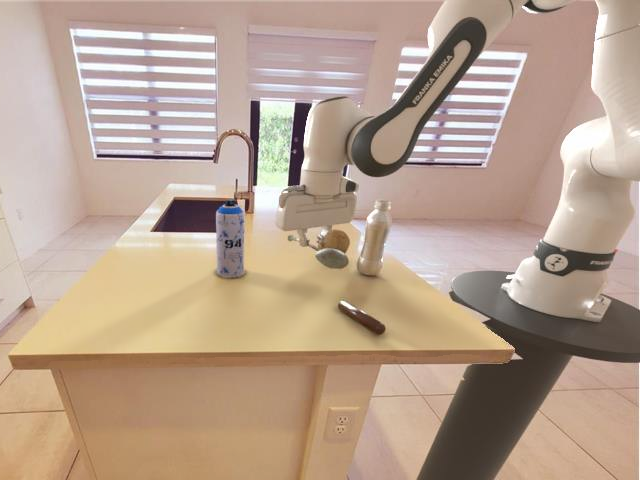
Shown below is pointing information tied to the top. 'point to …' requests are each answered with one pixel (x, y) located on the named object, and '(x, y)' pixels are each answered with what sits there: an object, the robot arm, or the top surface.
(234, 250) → the aerosol can
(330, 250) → the soupspoon
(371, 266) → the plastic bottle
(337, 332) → the top surface
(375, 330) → the walnut dowel
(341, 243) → the potato
